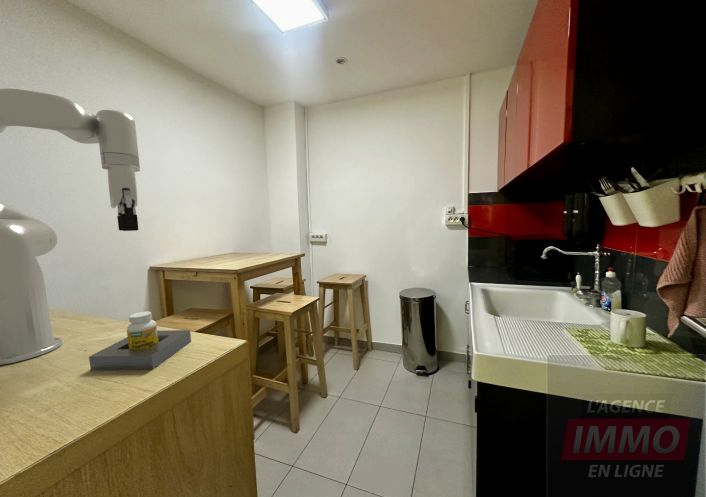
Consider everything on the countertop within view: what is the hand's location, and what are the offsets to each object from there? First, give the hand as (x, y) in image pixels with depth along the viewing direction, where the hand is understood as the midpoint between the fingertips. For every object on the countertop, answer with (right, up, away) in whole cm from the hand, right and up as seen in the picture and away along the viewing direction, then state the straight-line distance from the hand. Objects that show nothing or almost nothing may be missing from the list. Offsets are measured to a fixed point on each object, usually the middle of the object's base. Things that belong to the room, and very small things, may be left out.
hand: (128, 230), depth 72 cm
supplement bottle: (+11, -29, -9) cm, 33 cm away
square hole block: (+12, -29, -9) cm, 33 cm away
